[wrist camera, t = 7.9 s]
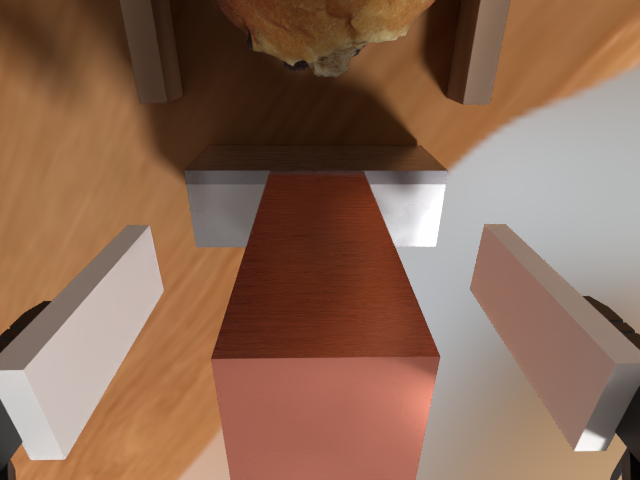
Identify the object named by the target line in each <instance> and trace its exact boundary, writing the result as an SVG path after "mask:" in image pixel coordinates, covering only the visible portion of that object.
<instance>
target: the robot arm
mask: <svg viewBox="0 0 640 480" xmlns="http://www.w3.org/2000/svg"><path fill="white" fill-rule="evenodd" d="M470 290H471V292H472V293H473V295H474V296H475V298H476V299H477V301H478V303H479V304H480V306H481V307H482V309H483V310H484V312H485V313H486V315H487V317H488V318H489V320H490V321H491V323H492V324H493V326H494V327H495V329H496V331H497V332H498V334H499V335H500V337H501V338H502V340H503V341H504V343H505V345H506V346H507V347H508V349H509V351H510V352H511V354H512V355H513V357H514V358H515V360H516V362H517V363H518V365H519V366H520V368H521V369H522V371H523V373H524V374H525V376H526V377H527V379H528V380H529V382H530V383H531V385H532V387H533V388H534V390H535V391H536V393H537V394H538V396H539V397H540V399H541V401H542V402H543V404H544V405H545V407H546V408H547V410H548V411H549V413H550V415H551V416H552V418H553V419H554V420H555V422H556V424H557V426H558V427H559V429H560V430H561V432H562V433H563V435H564V436H565V438H566V439H567V441H568V443H569V444H570V446H571V447H572V449H573V450H574V451H606V450H607V448H608V446H609V444H610V442H611V441H612V439H613V437H614V435H615V433H616V434H617V435H618V436H619V437H620V438H621V440H622V441H623V442H624V444H625V445H626V446H627V449H626V450H625V452H624V454H623V456H622V457H621V459H620V461H619V462H618V464H617V466H616V468H615V469H614V471H613V473H612V475H611V478H610V480H618V478H619V477H620V476H622V480H640V335H639V334H637V333H635V330H634V329H633V328H631V327H630V326H629V325H628V324H627V323H624V322H623V319H621V318H620V317H619V316H618V315H617V314H616V313H615V312H614V311H612V310H611V309H610V308H609V307H607V306H605V305H604V304H602V303H600V302H599V301H597V300H595V299H593V298H592V297H590V296H581V295H580V294H579V293H578V292H577V291H576V290H575V289H574V288H573V287H572V286H571V285H570V284H569V283H568V282H567V281H565V280H564V279H563V278H562V277H561V276H560V275H559V274H558V273H557V272H556V271H555V270H554V269H553V268H552V267H550V266H549V265H548V264H547V263H546V262H545V261H544V260H543V259H542V258H541V257H540V256H539V255H538V254H537V253H536V252H534V250H532V249H531V248H530V247H529V246H528V245H527V244H526V243H525V242H524V241H523V240H522V239H521V238H520V237H519V236H518V235H517V234H515V233H514V232H513V231H512V230H511V229H510V228H509V227H508V226H507V225H506V224H485V225H484V228H483V233H482V238H481V241H480V246H479V250H478V255H477V259H476V264H475V268H474V273H473V277H472V282H471V286H470ZM163 291H164V290H163V285H162V281H161V276H160V271H159V267H158V262H157V257H156V253H155V248H154V243H153V239H152V234H151V229H150V225H127V226H126V227H125V228H124V229H123V230H122V231H121V232H120V233H119V234H118V235H117V236H116V237H115V238H114V239H113V240H112V241H111V242H110V243H109V244H108V245H107V246H106V247H105V248H104V249H103V250H102V251H101V252H100V253H99V254H98V255H97V256H96V257H95V258H94V259H93V260H92V261H91V262H90V263H89V264H88V265H87V266H86V267H85V268H84V269H83V270H82V271H81V272H80V273H79V274H78V275H77V276H76V277H75V278H74V279H73V281H72V282H71V283H70V284H69V285H68V286H67V287H66V288H65V289H64V290H63V291H62V292H61V293H60V294H59V295H58V296H57V297H56V298H55V299H54V300H53V301H43V302H42V303H40V304H38V305H37V306H35V307H33V308H32V309H30V310H28V311H27V312H25V313H24V314H22V315H21V316H20V317H19V318H18V319H17V320H16V321H15V322H14V323H13V324H12V325H11V326H10V329H7V330H6V331H5V332H4V333H2V334H1V335H0V480H16V474H15V468H14V466H13V464H12V462H11V460H10V459H11V457H12V456H13V455H14V453H15V452H16V450H17V449H18V448H19V446H20V445H21V443H22V444H23V446H24V448H25V450H26V452H27V454H28V456H29V458H30V459H31V460H59V459H66V457H67V455H68V454H69V452H70V450H71V448H72V447H73V445H74V443H75V442H76V440H77V438H78V437H79V435H80V433H81V431H82V430H83V428H84V426H85V425H86V423H87V421H88V419H89V418H90V416H91V414H92V413H93V411H94V409H95V408H96V406H97V404H98V402H99V401H100V399H101V397H102V396H103V394H104V392H105V390H106V389H107V387H108V385H109V384H110V382H111V380H112V379H113V377H114V375H115V373H116V372H117V370H118V368H119V367H120V365H121V363H122V361H123V360H124V358H125V356H126V355H127V353H128V351H129V350H130V348H131V346H132V344H133V343H134V341H135V339H136V338H137V336H138V334H139V332H140V331H141V329H142V327H143V326H144V324H145V322H146V320H147V319H148V317H149V315H150V314H151V312H152V310H153V309H154V307H155V305H156V303H157V302H158V300H159V298H160V297H161V295H162V293H163Z"/></svg>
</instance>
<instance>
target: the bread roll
mask: <svg viewBox="0 0 640 480" xmlns="http://www.w3.org/2000/svg"><path fill="white" fill-rule="evenodd" d="M215 1H216V3H217V5H218V6H219V7H220V9H221V10H222V12H223V13H224V14H225V16H226V17H228V18H229V19H230V20H231V22H232V23H233V24H234V25H235V26H237V27H239V28H241V29H242V30H243V31H244V32H245V33H246V35H247V36H248V40H247V44H248V48H249V49H251V50H253V51H258V52H263V53H267V54H270V55H273V56H276V57H277V58H279V59H280V60H282V62H283V64H284V66H285V67H286V68H287V69H289V70H292V71H294V72H298V71H300V70H305V69H307V68H308V67H310V68H311V70H312V71H313V73H314V74H315V75H317V76H318V77H320V76H325V77H326V76H331V77H334V78H335V77H338V76H339V75H340V74H342V73H344V72H346V71H347V70H348V69H349V68H348V65H349V60H350V58H351V57H352V56H356V55H357V54H359V52H360V50H361V49H362V48H363V47H365V45H367V43H368V42H383V41H392V40H397V37H399V36H403V37H404V36H405V35H406V33H407V31H408V30H409V28H410V26H411V25H412V23H413V22H414V20H415V19H416V18H417V17H419V15H420V14H421V13H422V12H423V11H425V10H426V9H427V8H428V7H430V6H431V5H432V3H433V2H434V1H435V0H215Z"/></svg>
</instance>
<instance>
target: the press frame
mask: <svg viewBox="0 0 640 480" xmlns="http://www.w3.org/2000/svg"><path fill="white" fill-rule="evenodd" d="M119 1H120V6H121V11H122V16H123V21H124V26H125V31H126V36H127V41H128V47H129V52H130V57H131V62H132V67H133V72H134V77H135V82H136V87H137V92H138V97H139V103H169V102H171V101H173V100H176V99H178V98H180V97H183V89H182V83H181V76H180V69H179V62H178V55H177V48H176V41H175V34H174V28H173V21H172V14H171V7H170V0H119ZM510 1H511V0H461V1H460V8H459V14H458V21H457V28H456V35H455V41H454V48H453V55H452V62H451V68H450V75H449V82H448V89H447V95H446V98H449V99H451V100H453V101H456V102H458V103H461V104H463V105H490V101H491V96H492V91H493V86H494V81H495V76H496V71H497V66H498V61H499V56H500V51H501V46H502V41H503V36H504V31H505V26H506V21H507V16H508V11H509V6H510Z"/></svg>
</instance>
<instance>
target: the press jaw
mask: <svg viewBox="0 0 640 480" xmlns="http://www.w3.org/2000/svg"><path fill="white" fill-rule="evenodd" d="M184 173H185V179H186V185H187V192H188V198H189V204H190V211H191V217H192V223H193V230H194V236H195V242H196V247H246V249H245V252H244V255H243V258H242V261H241V265H240V268H239V271H238V274H237V278H236V281H235V284H234V287H233V290H232V294H231V297H230V300H229V303H228V306H227V310H226V313H225V316H224V319H223V322H222V326H221V329H220V332H219V335H218V338H217V342H216V345H215V348H214V351H213V354H212V358H211V362H212V368H213V374H214V380H215V386H216V392H217V399H218V405H219V411H220V417H221V423H222V429H223V436H224V442H225V448H226V454H227V460H228V466H229V472H230V479H231V480H416V475H417V470H418V464H419V460H420V455H421V450H422V445H423V440H424V435H425V430H426V425H427V420H428V415H429V410H430V405H431V400H432V395H433V390H434V385H435V380H436V375H437V370H438V365H439V360H440V355H439V352H438V350H437V348H436V345H435V343H434V340H433V338H432V335H431V333H430V331H429V328H428V326H427V323H426V321H425V318H424V316H423V314H422V311H421V309H420V306H419V304H418V301H417V299H416V297H415V294H414V292H413V289H412V287H411V285H410V282H409V279H408V277H407V275H406V272H405V270H404V268H403V265H402V262H401V260H400V258H399V255H398V253H397V250H396V248H395V246H436V241H437V234H438V228H439V222H440V216H441V210H442V203H443V198H444V191H445V186H446V180H447V174H448V170H447V169H445V168H444V167H443V166H442V165H441V164H440V163H439V162H438V161H437V160H436V159H435V158H434V157H433V156H432V155H431V154H430V153H429V152H427V151H426V150H425V149H424V148H423V147H422V146H371V145H209V146H208V147H207V148H206V149H205V150H204V151H203V152H202V153H201V154H200V155H199V156H198V157H197V158H196V159H195V160H194V161H193V162H192V163H191V164H190V165H189V166H188V167H187V168H186V169H185V170H184Z"/></svg>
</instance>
